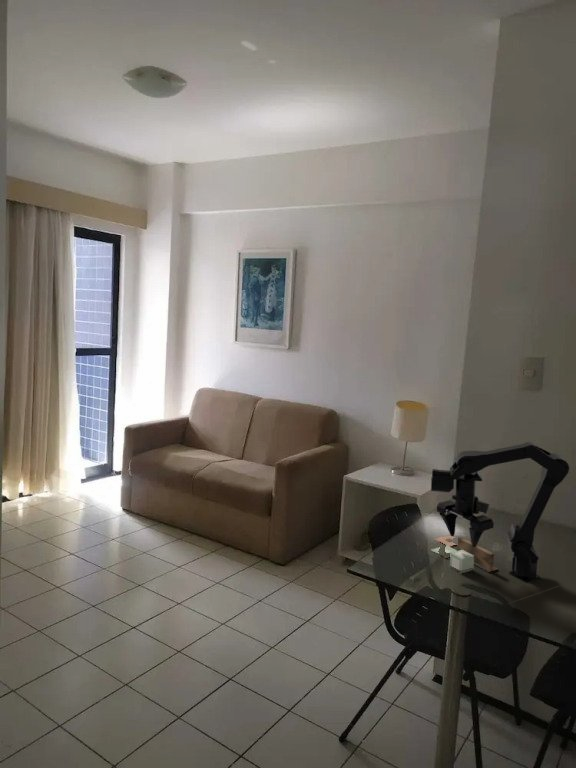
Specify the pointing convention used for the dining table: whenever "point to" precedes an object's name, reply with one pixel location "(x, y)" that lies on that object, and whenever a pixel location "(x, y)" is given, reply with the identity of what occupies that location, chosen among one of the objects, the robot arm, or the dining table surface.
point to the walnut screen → (478, 554)
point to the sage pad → (447, 549)
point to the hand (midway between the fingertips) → (463, 541)
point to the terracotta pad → (446, 540)
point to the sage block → (461, 560)
